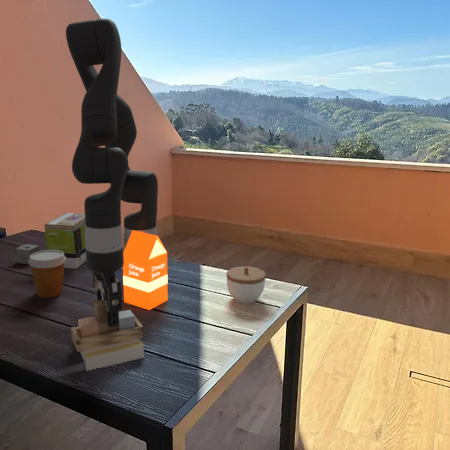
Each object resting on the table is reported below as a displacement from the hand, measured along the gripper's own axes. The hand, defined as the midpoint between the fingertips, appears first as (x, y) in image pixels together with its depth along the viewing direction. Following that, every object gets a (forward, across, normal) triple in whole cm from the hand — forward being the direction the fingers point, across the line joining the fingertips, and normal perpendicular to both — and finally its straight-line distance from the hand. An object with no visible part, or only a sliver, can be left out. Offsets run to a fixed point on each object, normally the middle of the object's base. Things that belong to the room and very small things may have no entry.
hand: (107, 317), depth 101 cm
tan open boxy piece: (+5, 0, 0) cm, 5 cm away
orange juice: (+8, +19, -15) cm, 25 cm away
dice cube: (+8, +67, +9) cm, 68 cm away
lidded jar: (+8, +11, -41) cm, 43 cm away
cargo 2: (+3, 0, -4) cm, 5 cm away
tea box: (+8, +62, -4) cm, 63 cm away
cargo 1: (+3, 0, +4) cm, 5 cm away
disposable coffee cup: (+8, +35, +7) cm, 37 cm away
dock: (+8, 0, 0) cm, 8 cm away
